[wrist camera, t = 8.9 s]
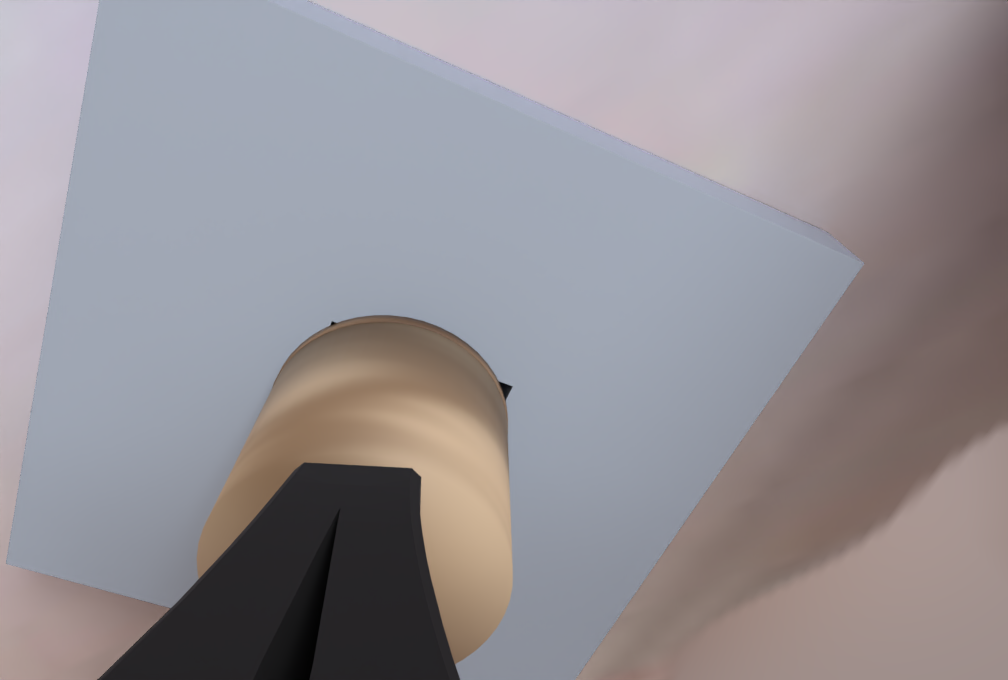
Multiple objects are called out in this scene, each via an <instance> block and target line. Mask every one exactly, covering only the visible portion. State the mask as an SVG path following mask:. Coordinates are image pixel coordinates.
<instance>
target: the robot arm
mask: <svg viewBox="0 0 1008 680" xmlns="http://www.w3.org/2000/svg"><path fill="white" fill-rule="evenodd" d="M420 505H421V476H420V475H419V474H418V473H417V472H416V471H414V470H413V469H412V468H402V467H382V466H363V465H344V464H325V463H306V462H304V463H303V464H301V465H300V466H299V467H298V468H296V469H295V470H294V471H293V472H292V473H291V475H290V476H289V477H288V478H287V480H286V481H285V482H284V483H283V484H282V486H281V487H280V488H279V489H278V490H277V492H276V493H275V494H274V495H273V496H272V498H271V499H270V500H269V501H268V502H267V504H266V505H265V506H264V507H263V508H262V510H261V511H260V512H259V513H258V514H257V515H256V517H255V518H254V519H253V520H252V521H251V522H250V523H249V525H248V526H247V527H246V528H245V529H244V530H243V531H242V532H241V534H240V535H239V536H238V537H237V538H236V539H235V540H234V542H233V543H232V544H231V545H230V546H229V547H228V548H227V549H226V550H225V551H224V553H223V554H222V555H221V556H220V557H219V558H218V559H217V560H216V561H215V562H214V563H213V564H212V565H211V566H210V568H209V569H208V570H207V571H206V572H205V573H204V574H203V575H202V576H201V577H200V578H199V579H198V580H197V581H196V582H195V584H194V585H193V586H192V587H191V588H190V589H189V590H188V591H187V592H186V593H185V594H184V595H183V596H182V597H181V598H180V600H179V601H178V602H177V603H176V604H175V605H174V606H173V607H172V608H171V609H170V610H169V611H168V612H167V613H166V614H165V615H164V616H163V617H162V618H161V619H160V620H159V621H158V622H157V623H156V624H154V625H153V626H152V627H151V628H150V629H149V630H148V631H147V632H146V633H145V634H144V635H143V636H142V637H141V638H140V639H139V640H138V641H137V642H136V643H135V644H134V645H133V646H132V647H131V648H130V649H129V650H128V651H127V652H126V653H125V654H124V655H123V656H122V657H120V658H119V659H118V660H117V661H116V662H115V663H114V664H113V665H112V666H111V667H110V668H109V669H108V670H107V671H106V672H105V673H104V674H103V675H102V676H101V677H100V678H99V679H98V680H460V678H459V675H458V672H457V669H456V666H455V663H454V660H453V657H452V653H451V650H450V647H449V643H448V640H447V637H446V633H445V630H444V627H443V623H442V619H441V615H440V611H439V607H438V603H437V600H436V596H435V592H434V588H433V584H432V580H431V576H430V571H429V567H428V562H427V557H426V551H425V545H424V539H423V533H422V526H421V516H420Z"/></svg>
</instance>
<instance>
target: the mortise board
mask: <svg viewBox="0 0 1008 680" xmlns="http://www.w3.org/2000/svg"><path fill="white" fill-rule="evenodd" d="M863 265H864V262H862V261H861V260H860V259H859V258H858V257H856V256H855V255H854V254H853V253H852V252H851V251H849V250H848V249H847V248H846V247H845V246H843V245H842V244H841V243H840V242H839V241H837V240H836V239H835V238H834V237H833V236H831V235H830V234H829V233H828V232H826V231H823V230H821V229H819V228H817V227H815V226H812V225H810V224H808V223H806V222H803V221H801V220H799V219H797V218H794V217H792V216H790V215H788V214H785V213H783V212H781V211H779V210H776V209H774V208H772V207H770V206H767V205H765V204H763V203H761V202H758V201H756V200H754V199H752V198H749V197H747V196H745V195H743V194H740V193H738V192H736V191H734V190H731V189H729V188H727V187H725V186H722V185H720V184H718V183H716V182H714V181H711V180H709V179H707V178H705V177H702V176H700V175H698V174H696V173H693V172H691V171H689V170H687V169H684V168H682V167H680V166H678V165H675V164H673V163H671V162H669V161H666V160H664V159H662V158H660V157H657V156H655V155H653V154H651V153H648V152H646V151H644V150H642V149H639V148H637V147H635V146H633V145H630V144H628V143H626V142H624V141H621V140H619V139H617V138H615V137H613V136H610V135H608V134H606V133H604V132H601V131H599V130H597V129H595V128H592V127H590V126H588V125H586V124H583V123H581V122H579V121H577V120H574V119H572V118H570V117H568V116H565V115H563V114H561V113H559V112H556V111H554V110H552V109H550V108H547V107H545V106H543V105H541V104H538V103H536V102H534V101H532V100H529V99H527V98H525V97H523V96H520V95H518V94H516V93H514V92H512V91H509V90H507V89H505V88H503V87H500V86H498V85H496V84H494V83H491V82H489V81H487V80H485V79H482V78H480V77H478V76H476V75H473V74H471V73H469V72H467V71H464V70H462V69H460V68H458V67H455V66H453V65H451V64H449V63H446V62H444V61H442V60H440V59H437V58H435V57H433V56H431V55H428V54H426V53H424V52H422V51H419V50H417V49H415V48H413V47H411V46H408V45H406V44H404V43H402V42H399V41H397V40H395V39H393V38H390V37H388V36H386V35H384V34H381V33H379V32H377V31H375V30H372V29H370V28H368V27H366V26H363V25H361V24H359V23H357V22H354V21H352V20H350V19H348V18H345V17H343V16H341V15H339V14H336V13H334V12H332V11H330V10H327V9H325V8H323V7H321V6H318V5H316V4H314V3H312V2H310V1H307V0H99V6H98V12H97V18H96V24H95V30H94V36H93V42H92V48H91V54H90V60H89V66H88V72H87V78H86V84H85V90H84V96H83V102H82V108H81V114H80V120H79V126H78V132H77V138H76V144H75V150H74V156H73V162H72V168H71V174H70V180H69V186H68V192H67V198H66V204H65V210H64V216H63V222H62V228H61V234H60V241H59V247H58V253H57V259H56V265H55V271H54V277H53V283H52V289H51V295H50V301H49V307H48V313H47V319H46V325H45V331H44V337H43V343H42V349H41V355H40V361H39V367H38V373H37V379H36V385H35V391H34V397H33V403H32V409H31V415H30V421H29V427H28V433H27V439H26V445H25V451H24V457H23V463H22V469H21V475H20V481H19V487H18V493H17V499H16V506H15V512H14V518H13V524H12V530H11V536H10V542H9V548H8V554H7V560H6V564H9V565H12V566H16V567H20V568H23V569H27V570H31V571H35V572H38V573H42V574H46V575H49V576H53V577H57V578H60V579H64V580H68V581H72V582H75V583H79V584H83V585H86V586H90V587H94V588H97V589H101V590H105V591H109V592H112V593H116V594H120V595H123V596H127V597H131V598H134V599H138V600H142V601H146V602H149V603H153V604H157V605H160V606H164V607H168V608H172V607H173V606H174V605H175V604H176V603H177V602H178V601H179V600H180V598H181V597H182V596H183V595H184V594H185V593H186V592H187V591H188V590H189V589H190V588H191V587H192V586H193V585H194V584H195V582H196V581H197V580H198V579H199V578H198V572H197V551H198V543H199V540H200V536H201V533H202V530H203V527H204V525H205V523H206V521H207V519H208V517H209V515H210V513H211V511H212V509H213V507H214V505H215V503H216V501H217V499H218V497H219V495H220V493H221V491H222V489H223V487H224V485H225V483H226V481H227V479H228V477H229V475H230V473H231V471H232V469H233V467H234V465H235V463H236V461H237V459H238V457H239V455H240V452H241V450H242V448H243V446H244V444H245V442H246V440H247V438H248V436H249V434H250V432H251V430H252V428H253V426H254V424H255V422H256V420H257V418H258V416H259V414H260V412H261V410H262V408H263V406H264V404H265V402H266V400H267V398H268V396H269V394H270V392H271V390H272V387H273V384H274V382H275V380H276V378H277V376H278V374H279V372H280V370H281V368H282V366H283V364H284V363H285V361H286V360H287V359H288V357H289V356H290V355H291V353H292V352H293V351H294V350H295V349H296V348H297V347H298V346H299V345H300V344H301V343H302V342H304V341H305V340H306V339H308V338H309V337H310V336H312V335H313V334H315V333H317V332H318V331H320V330H322V329H324V328H326V327H328V326H330V325H333V324H336V323H338V322H341V321H344V320H348V319H352V318H356V317H363V316H372V315H393V316H402V317H409V318H413V319H417V320H421V321H425V322H428V323H430V324H433V325H436V326H439V327H441V328H443V329H445V330H447V331H449V332H451V333H453V334H454V335H456V336H457V337H459V338H460V339H462V340H463V341H465V342H466V343H467V344H469V345H470V346H471V347H472V348H473V349H474V350H475V351H477V352H478V353H479V354H480V355H481V357H482V358H483V359H484V360H485V361H486V362H487V363H488V365H489V366H490V368H491V369H492V371H493V372H494V374H495V375H496V377H497V379H498V381H499V383H500V385H501V387H502V390H503V394H504V397H505V400H506V406H507V412H508V457H509V483H510V510H511V537H512V563H513V587H512V592H511V597H510V602H509V604H508V607H507V610H506V612H505V615H504V617H503V618H502V620H501V622H500V624H499V625H498V627H497V629H496V630H495V631H494V632H493V633H492V635H491V636H490V637H489V638H488V640H487V641H486V642H484V643H483V644H482V645H481V646H480V647H479V648H478V649H477V650H476V651H475V652H473V653H472V654H470V655H469V656H467V657H466V658H465V659H463V660H462V661H460V662H458V663H456V664H455V666H456V669H457V672H458V675H459V678H460V680H575V679H576V678H577V676H578V675H579V673H580V672H581V671H582V669H583V668H584V666H585V665H586V663H587V662H588V661H589V659H590V658H591V656H592V655H593V653H594V652H595V650H596V649H597V648H598V646H599V645H600V643H601V642H602V640H603V639H604V637H605V636H606V635H607V633H608V632H609V630H610V629H611V627H612V626H613V625H614V623H615V622H616V620H617V619H618V617H619V616H620V614H621V613H622V612H623V610H624V609H625V607H626V606H627V604H628V603H629V602H630V600H631V599H632V597H633V596H634V594H635V593H636V591H637V590H638V589H639V587H640V586H641V584H642V583H643V581H644V580H645V579H646V577H647V576H648V574H649V573H650V571H651V570H652V568H653V567H654V566H655V564H656V563H657V561H658V560H659V558H660V557H661V555H662V554H663V553H664V551H665V550H666V548H667V547H668V545H669V544H670V543H671V541H672V540H673V538H674V537H675V535H676V534H677V532H678V531H679V530H680V528H681V527H682V525H683V524H684V522H685V521H686V520H687V518H688V517H689V515H690V514H691V512H692V511H693V509H694V508H695V507H696V505H697V504H698V502H699V501H700V499H701V498H702V496H703V495H704V494H705V492H706V491H707V489H708V488H709V486H710V485H711V484H712V482H713V481H714V479H715V478H716V476H717V475H718V473H719V472H720V471H721V469H722V468H723V466H724V465H725V463H726V462H727V461H728V459H729V458H730V456H731V455H732V453H733V452H734V450H735V449H736V448H737V446H738V445H739V443H740V442H741V440H742V439H743V437H744V436H745V435H746V433H747V432H748V430H749V429H750V427H751V426H752V425H753V423H754V422H755V420H756V419H757V417H758V416H759V414H760V413H761V412H762V410H763V409H764V407H765V406H766V404H767V403H768V402H769V400H770V399H771V397H772V396H773V394H774V393H775V391H776V390H777V389H778V387H779V386H780V384H781V383H782V381H783V380H784V378H785V377H786V376H787V374H788V373H789V371H790V370H791V368H792V367H793V366H794V364H795V363H796V361H797V360H798V358H799V357H800V355H801V354H802V353H803V351H804V350H805V348H806V347H807V345H808V344H809V343H810V341H811V340H812V338H813V337H814V335H815V334H816V332H817V331H818V330H819V328H820V327H821V325H822V324H823V322H824V321H825V320H826V318H827V317H828V315H829V314H830V312H831V311H832V309H833V308H834V307H835V305H836V304H837V302H838V301H839V299H840V298H841V296H842V295H843V294H844V292H845V291H846V289H847V288H848V286H849V285H850V284H851V282H852V281H853V279H854V278H855V276H856V275H857V273H858V272H859V271H860V269H861V268H862V266H863Z"/></svg>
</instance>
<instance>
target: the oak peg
mask: <svg viewBox="0 0 1008 680" xmlns="http://www.w3.org/2000/svg"><path fill="white" fill-rule="evenodd" d="M304 462H306V463H325V464H344V465H363V466H382V467H402V468H412V469H413V470H414V471H416V472H417V473H418V474H419V475H420V476H421V505H420V516H421V526H422V533H423V539H424V545H425V551H426V557H427V562H428V567H429V571H430V576H431V580H432V584H433V588H434V592H435V596H436V600H437V603H438V607H439V611H440V615H441V619H442V623H443V627H444V630H445V633H446V637H447V640H448V643H449V647H450V650H451V653H452V657H453V660H454V663H455V664H456V663H458V662H460V661H462V660H463V659H465V658H466V657H467V656H469V655H470V654H472V653H473V652H475V651H476V650H477V649H478V648H479V647H480V646H481V645H482V644H483V643H484V642H486V641H487V640H488V638H489V637H490V636H491V635H492V633H493V632H494V631H495V630H496V629H497V627H498V625H499V624H500V622H501V620H502V618H503V617H504V615H505V612H506V610H507V607H508V604H509V602H510V597H511V592H512V587H513V563H512V537H511V510H510V483H509V457H508V412H507V406H506V400H505V397H504V394H503V390H502V387H501V385H500V383H499V381H498V379H497V377H496V375H495V374H494V372H493V371H492V369H491V368H490V366H489V365H488V363H487V362H486V361H485V360H484V359H483V358H482V357H481V355H480V354H479V353H478V352H477V351H475V350H474V349H473V348H472V347H471V346H470V345H469V344H467V343H466V342H465V341H463V340H462V339H460V338H459V337H457V336H456V335H454V334H453V333H451V332H449V331H447V330H445V329H443V328H441V327H439V326H436V325H433V324H430V323H428V322H425V321H421V320H417V319H413V318H409V317H402V316H393V315H372V316H363V317H356V318H352V319H348V320H344V321H341V322H338V323H336V324H333V325H330V326H328V327H326V328H324V329H322V330H320V331H318V332H317V333H315V334H313V335H312V336H310V337H309V338H308V339H306V340H305V341H304V342H302V343H301V344H300V345H299V346H298V347H297V348H296V349H295V350H294V351H293V352H292V353H291V355H290V356H289V357H288V359H287V360H286V361H285V363H284V364H283V366H282V368H281V370H280V372H279V374H278V376H277V378H276V380H275V382H274V384H273V387H272V390H271V392H270V394H269V396H268V398H267V400H266V402H265V404H264V406H263V408H262V410H261V412H260V414H259V416H258V418H257V420H256V422H255V424H254V426H253V428H252V430H251V432H250V434H249V436H248V438H247V440H246V442H245V444H244V446H243V448H242V450H241V452H240V455H239V457H238V459H237V461H236V463H235V465H234V467H233V469H232V471H231V473H230V475H229V477H228V479H227V481H226V483H225V485H224V487H223V489H222V491H221V493H220V495H219V497H218V499H217V501H216V503H215V505H214V507H213V509H212V511H211V513H210V515H209V517H208V519H207V521H206V523H205V525H204V527H203V530H202V533H201V536H200V540H199V543H198V551H197V572H198V578H200V577H201V576H202V575H203V574H204V573H205V572H206V571H207V570H208V569H209V568H210V566H211V565H212V564H213V563H214V562H215V561H216V560H217V559H218V558H219V557H220V556H221V555H222V554H223V553H224V551H225V550H226V549H227V548H228V547H229V546H230V545H231V544H232V543H233V542H234V540H235V539H236V538H237V537H238V536H239V535H240V534H241V532H242V531H243V530H244V529H245V528H246V527H247V526H248V525H249V523H250V522H251V521H252V520H253V519H254V518H255V517H256V515H257V514H258V513H259V512H260V511H261V510H262V508H263V507H264V506H265V505H266V504H267V502H268V501H269V500H270V499H271V498H272V496H273V495H274V494H275V493H276V492H277V490H278V489H279V488H280V487H281V486H282V484H283V483H284V482H285V481H286V480H287V478H288V477H289V476H290V475H291V473H292V472H293V471H294V470H295V469H296V468H298V467H299V466H300V465H301V464H303V463H304Z"/></svg>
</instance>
